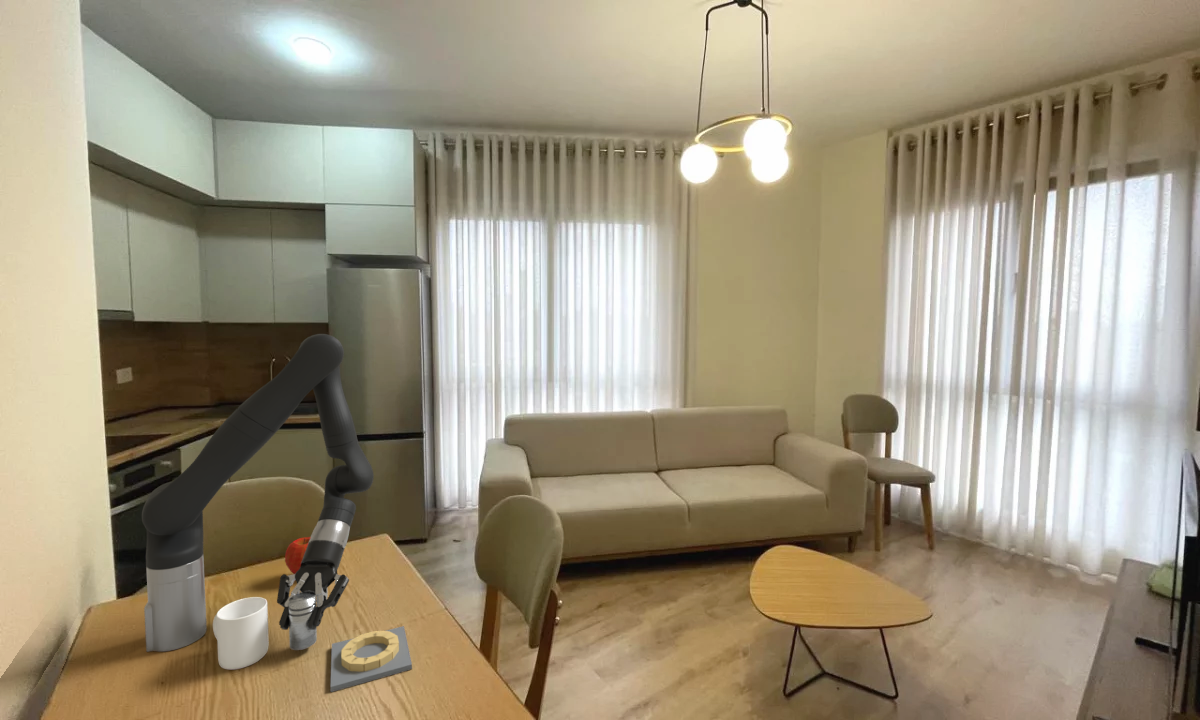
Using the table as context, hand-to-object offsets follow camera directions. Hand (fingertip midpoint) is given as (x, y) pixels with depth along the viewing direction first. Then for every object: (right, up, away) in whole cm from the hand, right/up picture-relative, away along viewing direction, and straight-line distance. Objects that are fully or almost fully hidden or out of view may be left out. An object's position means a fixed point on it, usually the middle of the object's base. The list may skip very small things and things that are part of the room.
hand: (298, 628), depth 101 cm
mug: (-12, -6, 0) cm, 14 cm away
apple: (-17, -4, +31) cm, 36 cm away
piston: (0, -4, +2) cm, 5 cm away
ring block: (+15, -6, 0) cm, 16 cm away
